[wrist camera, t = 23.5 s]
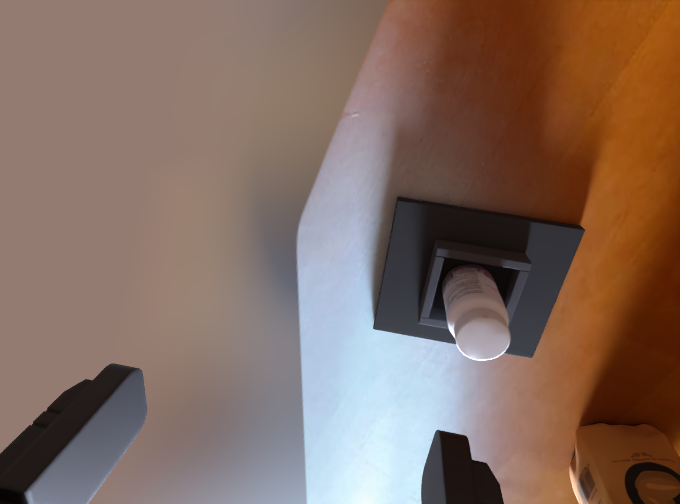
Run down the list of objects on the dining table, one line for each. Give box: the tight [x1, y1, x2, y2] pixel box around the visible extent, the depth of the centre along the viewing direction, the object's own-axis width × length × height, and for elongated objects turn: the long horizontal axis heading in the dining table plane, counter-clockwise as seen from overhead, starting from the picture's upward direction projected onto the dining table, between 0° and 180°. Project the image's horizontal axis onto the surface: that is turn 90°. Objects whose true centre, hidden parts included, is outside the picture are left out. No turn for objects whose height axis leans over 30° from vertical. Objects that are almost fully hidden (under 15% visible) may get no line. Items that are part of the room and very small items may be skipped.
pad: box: [373, 197, 585, 358], centre depth 38 cm, size 16×14×3 cm
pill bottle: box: [442, 264, 511, 360], centre depth 35 cm, size 5×5×8 cm
